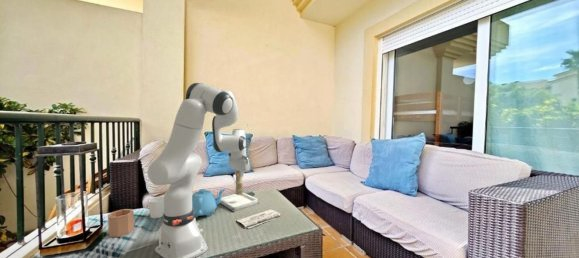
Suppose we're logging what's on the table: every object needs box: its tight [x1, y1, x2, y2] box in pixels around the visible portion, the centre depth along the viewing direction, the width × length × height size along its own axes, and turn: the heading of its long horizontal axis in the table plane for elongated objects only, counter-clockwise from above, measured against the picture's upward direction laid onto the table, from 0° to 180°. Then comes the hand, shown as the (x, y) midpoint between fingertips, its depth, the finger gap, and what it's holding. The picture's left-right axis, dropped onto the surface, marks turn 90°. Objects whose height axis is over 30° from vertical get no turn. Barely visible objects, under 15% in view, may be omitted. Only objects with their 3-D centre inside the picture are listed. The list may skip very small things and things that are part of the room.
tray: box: [219, 192, 260, 212], centre depth 144 cm, size 20×18×2 cm
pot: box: [107, 208, 135, 238], centre depth 106 cm, size 9×9×10 cm
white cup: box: [148, 196, 164, 219], centre depth 123 cm, size 8×8×10 cm
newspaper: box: [235, 209, 281, 229], centre depth 122 cm, size 23×12×2 cm, turn 129°
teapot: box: [192, 188, 226, 219], centre depth 128 cm, size 16×20×14 cm
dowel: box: [235, 170, 244, 195], centre depth 143 cm, size 4×4×15 cm
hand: (239, 176), depth 143 cm, fingers closed on dowel, 4 cm apart
